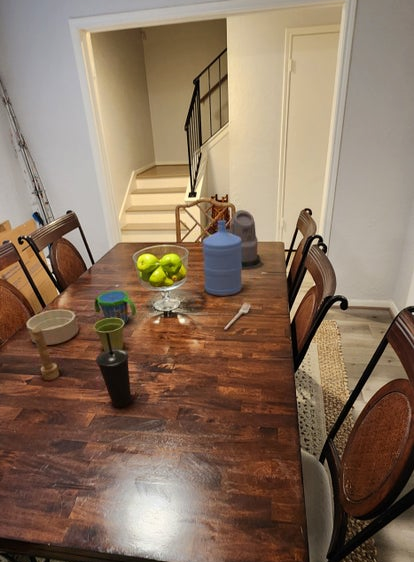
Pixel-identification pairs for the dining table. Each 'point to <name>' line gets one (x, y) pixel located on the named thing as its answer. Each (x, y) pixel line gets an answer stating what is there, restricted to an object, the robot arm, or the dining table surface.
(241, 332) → the dining table surface
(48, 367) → the wooden pestle
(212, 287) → the water jug
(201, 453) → the dining table surface
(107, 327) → the plant pot
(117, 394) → the drinking cup
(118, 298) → the snack cup
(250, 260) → the machine
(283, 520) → the dining table surface
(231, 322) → the fork
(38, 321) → the bowl
